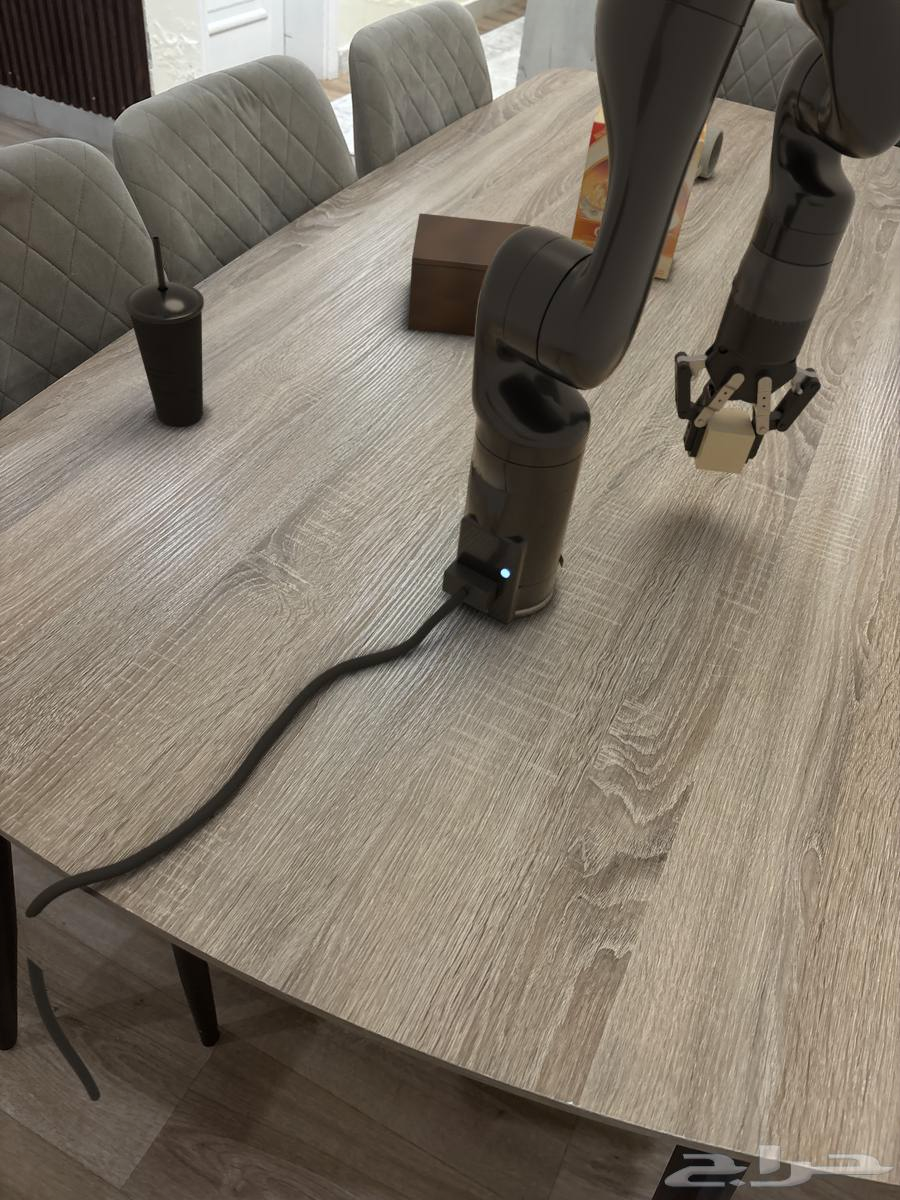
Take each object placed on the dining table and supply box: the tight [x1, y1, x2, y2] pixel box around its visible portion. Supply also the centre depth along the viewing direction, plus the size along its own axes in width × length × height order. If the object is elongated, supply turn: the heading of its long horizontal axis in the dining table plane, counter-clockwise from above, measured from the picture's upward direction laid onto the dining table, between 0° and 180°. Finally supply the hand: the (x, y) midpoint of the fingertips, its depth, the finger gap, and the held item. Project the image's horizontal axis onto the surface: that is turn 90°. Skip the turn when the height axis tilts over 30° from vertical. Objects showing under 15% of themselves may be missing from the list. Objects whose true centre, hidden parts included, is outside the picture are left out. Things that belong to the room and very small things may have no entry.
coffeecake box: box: [570, 104, 708, 281], centre depth 132 cm, size 15×7×20 cm, turn 76°
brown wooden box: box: [407, 212, 532, 337], centre depth 121 cm, size 15×13×10 cm
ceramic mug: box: [694, 126, 724, 180], centre depth 162 cm, size 11×8×8 cm
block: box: [693, 407, 755, 475], centre depth 93 cm, size 4×4×4 cm
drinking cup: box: [123, 236, 205, 428], centre depth 96 cm, size 8×8×20 cm
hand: (716, 455), depth 94 cm, fingers closed on block, 4 cm apart
